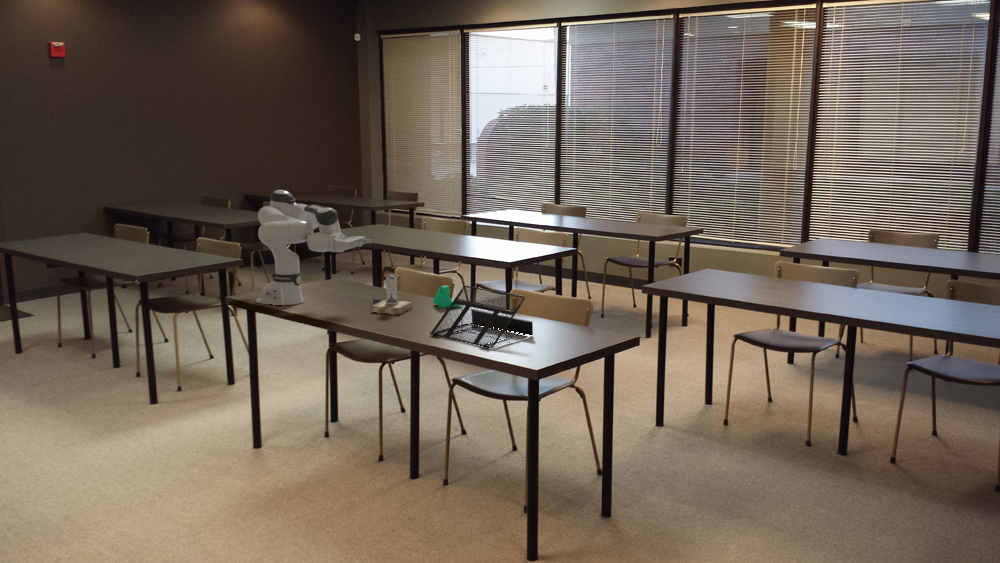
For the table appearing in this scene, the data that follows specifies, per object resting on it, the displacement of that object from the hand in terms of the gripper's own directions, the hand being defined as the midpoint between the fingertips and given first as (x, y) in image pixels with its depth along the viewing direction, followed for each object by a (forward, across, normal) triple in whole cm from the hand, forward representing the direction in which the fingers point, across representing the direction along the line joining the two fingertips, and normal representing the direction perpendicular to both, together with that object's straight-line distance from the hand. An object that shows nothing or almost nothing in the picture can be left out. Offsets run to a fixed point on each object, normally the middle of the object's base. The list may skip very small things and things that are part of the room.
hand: (366, 242), depth 377 cm
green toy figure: (+33, -14, -32) cm, 48 cm away
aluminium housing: (+12, +3, -28) cm, 31 cm away
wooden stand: (+12, +3, -31) cm, 33 cm away
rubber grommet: (+2, -4, -30) cm, 31 cm away
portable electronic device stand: (+65, +34, -34) cm, 80 cm away
